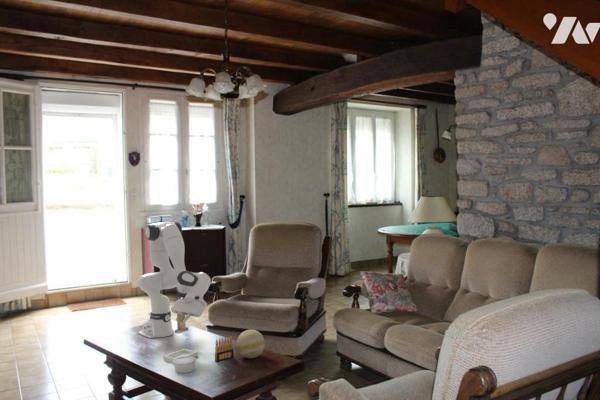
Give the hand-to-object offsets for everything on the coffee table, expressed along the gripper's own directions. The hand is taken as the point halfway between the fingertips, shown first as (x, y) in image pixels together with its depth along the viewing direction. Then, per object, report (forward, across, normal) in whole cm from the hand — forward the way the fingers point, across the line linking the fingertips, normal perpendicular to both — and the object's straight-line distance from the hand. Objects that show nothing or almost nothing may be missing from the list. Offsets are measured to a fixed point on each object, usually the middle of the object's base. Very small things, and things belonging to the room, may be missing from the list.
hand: (180, 321), depth 275 cm
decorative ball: (+1, +32, +28) cm, 43 cm away
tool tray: (+14, 0, +14) cm, 20 cm away
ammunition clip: (+8, +22, +21) cm, 32 cm away
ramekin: (+23, +14, +7) cm, 27 cm away
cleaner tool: (+4, 0, +5) cm, 6 cm away
